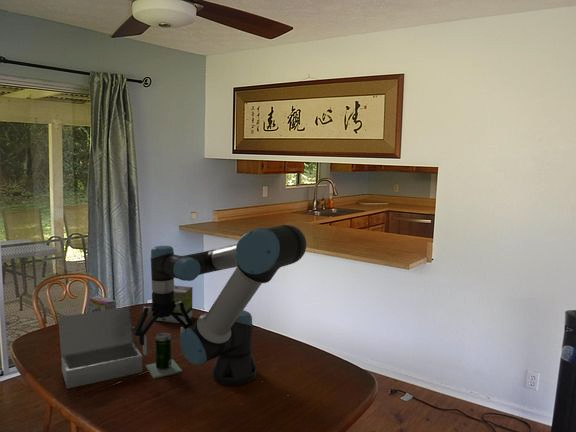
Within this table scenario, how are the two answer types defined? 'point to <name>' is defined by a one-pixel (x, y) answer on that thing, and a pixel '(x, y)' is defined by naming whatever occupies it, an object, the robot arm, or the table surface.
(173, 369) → the pad
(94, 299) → the candy bar box
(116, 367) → the case
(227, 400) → the table surface
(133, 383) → the table surface
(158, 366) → the beer can
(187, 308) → the tea box
